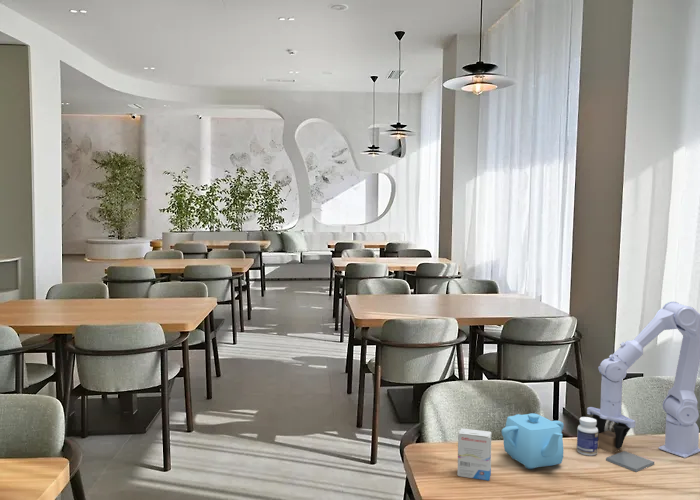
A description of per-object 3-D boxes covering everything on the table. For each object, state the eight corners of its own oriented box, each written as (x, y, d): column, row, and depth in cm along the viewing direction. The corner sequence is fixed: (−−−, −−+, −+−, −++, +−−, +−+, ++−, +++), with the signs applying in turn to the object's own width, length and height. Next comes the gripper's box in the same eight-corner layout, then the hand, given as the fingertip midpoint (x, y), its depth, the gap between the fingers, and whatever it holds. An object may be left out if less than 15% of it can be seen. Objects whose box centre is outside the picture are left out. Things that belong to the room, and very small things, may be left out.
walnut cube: (607, 445, 180) (607, 430, 180) (620, 450, 176) (621, 435, 176) (598, 448, 178) (598, 433, 177) (611, 453, 174) (612, 438, 174)
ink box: (491, 473, 160) (492, 430, 159) (489, 481, 155) (490, 437, 154) (459, 468, 163) (460, 426, 162) (456, 476, 158) (457, 433, 157)
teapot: (493, 464, 166) (494, 417, 165) (512, 445, 179) (513, 401, 178) (561, 480, 156) (562, 430, 155) (575, 459, 170) (576, 413, 169)
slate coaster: (624, 453, 173) (624, 450, 173) (654, 464, 166) (654, 461, 166) (605, 460, 168) (606, 457, 168) (635, 472, 161) (636, 469, 161)
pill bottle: (599, 457, 171) (600, 423, 170) (578, 455, 172) (579, 421, 171) (595, 449, 176) (596, 416, 176) (575, 447, 178) (576, 415, 177)
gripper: (581, 395, 180) (580, 438, 181) (626, 408, 168) (624, 455, 169) (595, 391, 184) (594, 434, 185) (640, 404, 172) (638, 450, 172)
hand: (609, 444), depth 177 cm, fingers open, 5 cm apart
